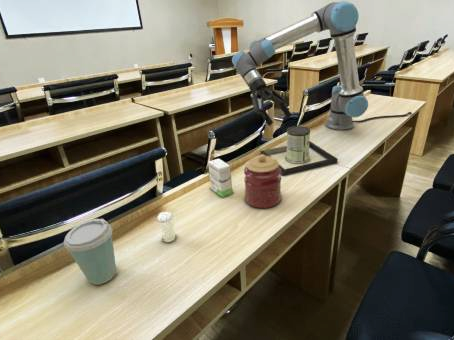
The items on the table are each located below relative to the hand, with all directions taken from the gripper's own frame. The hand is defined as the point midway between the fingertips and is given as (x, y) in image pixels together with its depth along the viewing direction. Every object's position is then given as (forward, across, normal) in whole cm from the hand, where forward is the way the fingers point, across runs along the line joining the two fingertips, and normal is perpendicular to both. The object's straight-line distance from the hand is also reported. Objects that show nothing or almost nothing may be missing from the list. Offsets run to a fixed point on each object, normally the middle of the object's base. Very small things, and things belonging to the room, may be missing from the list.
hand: (280, 120), depth 139 cm
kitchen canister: (+26, +35, +2) cm, 44 cm away
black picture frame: (+18, 0, -4) cm, 19 cm away
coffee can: (+19, 0, -5) cm, 19 cm away
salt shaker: (+20, +70, -3) cm, 73 cm away
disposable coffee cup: (+20, +90, -4) cm, 92 cm away
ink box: (+14, +41, -9) cm, 45 cm away
